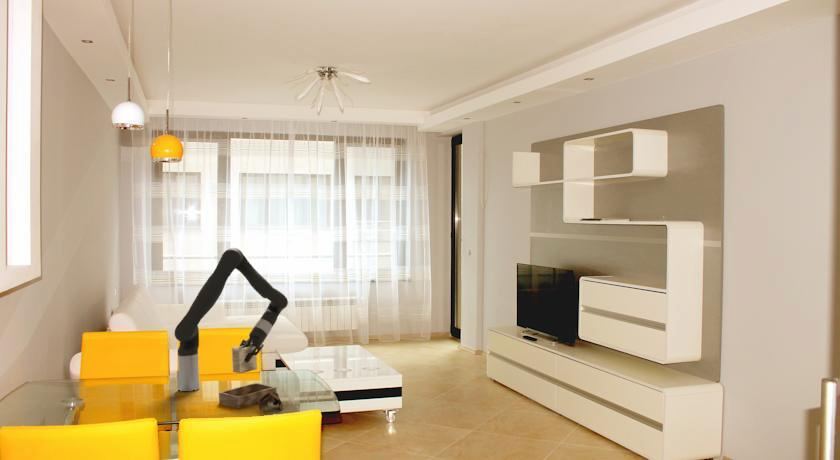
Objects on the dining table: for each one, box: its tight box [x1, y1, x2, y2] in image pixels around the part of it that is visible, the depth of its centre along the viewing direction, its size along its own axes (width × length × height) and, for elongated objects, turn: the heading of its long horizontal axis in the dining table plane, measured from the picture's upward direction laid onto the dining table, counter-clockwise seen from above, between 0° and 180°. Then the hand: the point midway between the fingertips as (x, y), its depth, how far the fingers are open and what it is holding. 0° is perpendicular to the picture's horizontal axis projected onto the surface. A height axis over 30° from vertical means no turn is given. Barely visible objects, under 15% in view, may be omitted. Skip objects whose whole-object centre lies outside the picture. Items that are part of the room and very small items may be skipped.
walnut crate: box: [218, 382, 278, 410], centre depth 290 cm, size 20×15×5 cm
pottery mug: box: [257, 392, 284, 411], centre depth 276 cm, size 12×10×8 cm
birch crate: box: [231, 345, 258, 374], centre depth 300 cm, size 9×6×11 cm, turn 142°
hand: (241, 360), depth 299 cm, fingers closed on birch crate, 6 cm apart
